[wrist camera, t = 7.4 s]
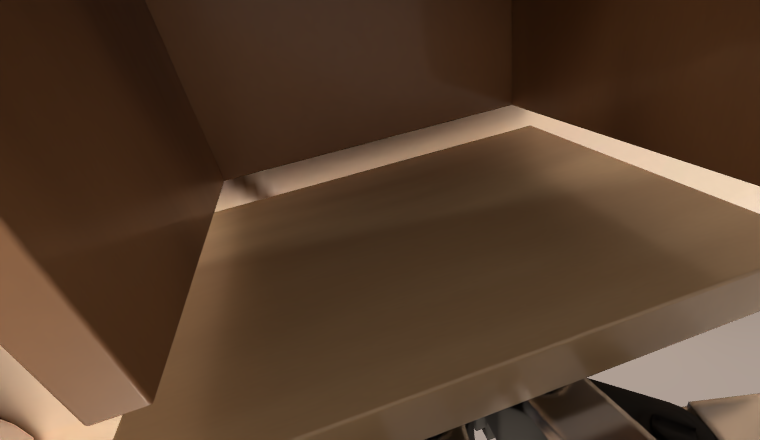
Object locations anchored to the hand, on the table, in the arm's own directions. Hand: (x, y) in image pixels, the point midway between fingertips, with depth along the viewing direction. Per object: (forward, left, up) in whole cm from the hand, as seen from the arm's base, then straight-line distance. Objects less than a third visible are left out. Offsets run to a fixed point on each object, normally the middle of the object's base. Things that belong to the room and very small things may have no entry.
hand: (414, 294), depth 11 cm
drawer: (-5, +5, -4) cm, 8 cm away
